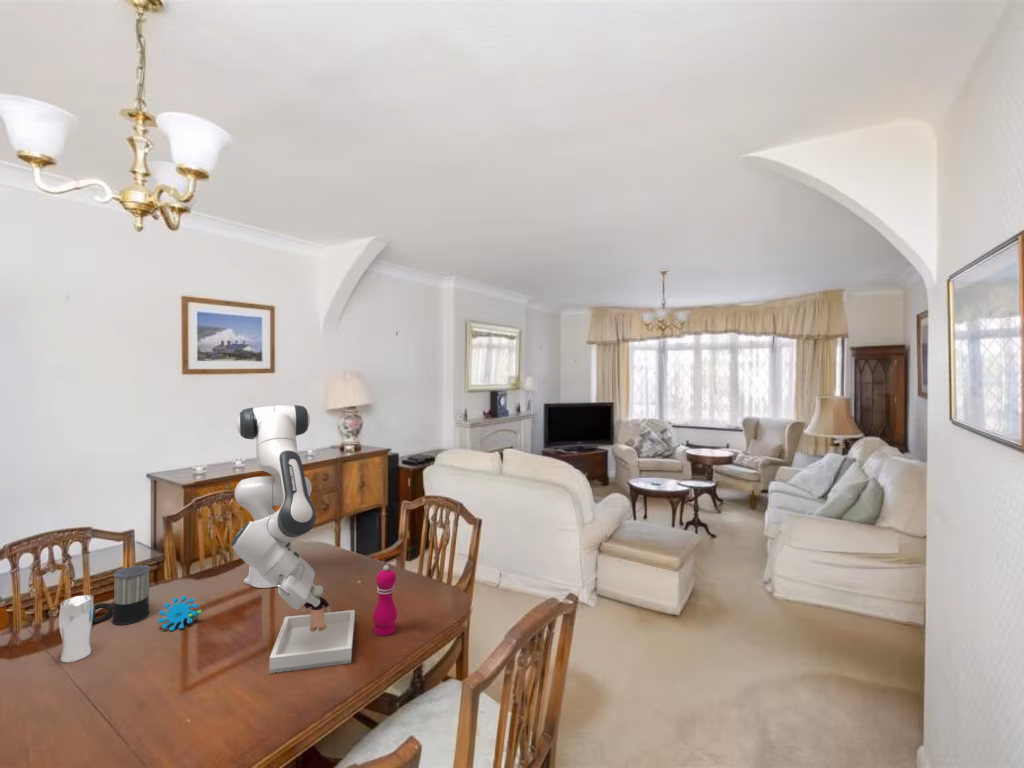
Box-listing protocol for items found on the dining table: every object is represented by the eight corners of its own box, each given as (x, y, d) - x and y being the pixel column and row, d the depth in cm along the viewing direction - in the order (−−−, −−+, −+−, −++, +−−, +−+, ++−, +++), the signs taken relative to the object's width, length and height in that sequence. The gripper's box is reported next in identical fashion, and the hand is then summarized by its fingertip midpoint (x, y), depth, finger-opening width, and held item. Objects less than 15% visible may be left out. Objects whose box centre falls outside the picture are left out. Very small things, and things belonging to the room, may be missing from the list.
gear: (151, 629, 139) (165, 594, 146) (154, 636, 143) (169, 601, 150) (193, 629, 142) (206, 595, 149) (196, 636, 146) (208, 603, 153)
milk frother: (152, 618, 148) (153, 571, 148) (84, 637, 137) (85, 585, 137) (143, 603, 158) (144, 558, 158) (79, 619, 147) (81, 571, 147)
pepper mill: (367, 630, 145) (369, 564, 145) (388, 622, 150) (390, 558, 150) (380, 639, 140) (382, 571, 140) (401, 630, 145) (403, 565, 145)
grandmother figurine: (330, 623, 140) (332, 581, 139) (330, 630, 136) (331, 587, 135) (302, 626, 137) (303, 584, 136) (300, 634, 133) (302, 590, 132)
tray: (284, 630, 144) (285, 616, 144) (354, 622, 149) (354, 609, 149) (269, 673, 123) (269, 658, 123) (350, 663, 128) (351, 648, 128)
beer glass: (65, 651, 130) (66, 596, 130) (97, 646, 132) (98, 592, 132) (52, 666, 123) (54, 608, 123) (86, 660, 126) (88, 604, 126)
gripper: (285, 575, 124) (324, 609, 127) (297, 548, 144) (331, 578, 146) (265, 594, 123) (305, 627, 125) (280, 564, 142) (315, 594, 145)
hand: (319, 601), depth 136 cm, fingers closed on grandmother figurine, 2 cm apart
